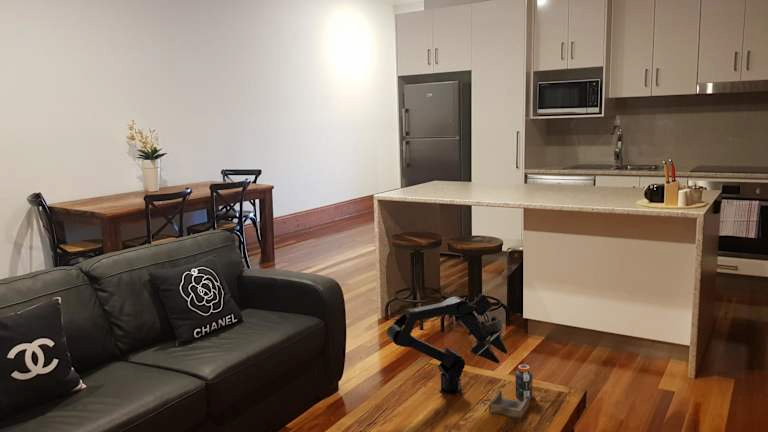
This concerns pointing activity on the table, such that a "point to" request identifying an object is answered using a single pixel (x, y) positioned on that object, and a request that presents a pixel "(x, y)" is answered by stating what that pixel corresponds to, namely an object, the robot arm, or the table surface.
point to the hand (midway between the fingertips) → (502, 357)
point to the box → (508, 406)
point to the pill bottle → (524, 382)
